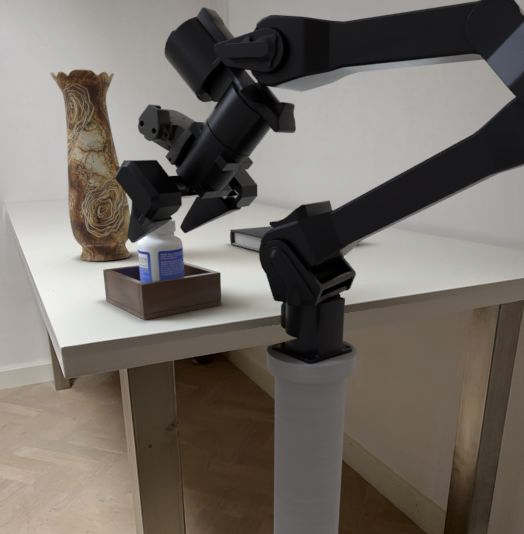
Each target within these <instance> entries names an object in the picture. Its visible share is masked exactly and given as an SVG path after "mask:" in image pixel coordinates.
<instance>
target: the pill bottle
mask: <svg viewBox="0 0 524 534" xmlns="http://www.w3.org/2000/svg"><path fill="white" fill-rule="evenodd" d="M176 231H177V227H176V219H174V218H172V220H171V221H169V222H167V223H166V224H164V225H163V226H161V227H159V228H158V229H156V230H155V231H153V232H152V233H150V234H148V235H147V236H145V237H144V238H142V239H140V240H139V241H137V254H138V255H137V256H138V265H139V269H140V281H141V282H143V283H146V282H153V281H159V280H166V279H172V278H179V277H184V262H185V261H184V247H183V241H182V239H181V238H180V237H178V236H176V234H175V232H176Z"/></svg>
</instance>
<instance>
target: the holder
mask: <svg viewBox="0 0 524 534" xmlns="http://www.w3.org/2000/svg"><path fill="white" fill-rule="evenodd" d="M183 262H184V277H179V278H172V279H166V280H159V281H153V282H146V283H143V282H141V281H140V269H139V264H135V265H128V266H120V267H114V268H113V267H112V268H106V269H103V270H102V273H103V282H104V283H103V284H104V290H105V291H104V292H105V293H104V294H105V302H106V303H108V304H111V305H113V306H115V307H117V308H119V309H121V310H123V311H125V312H127V313H129V314H131V315H133V316H135V317H136V318H139V319H140V320H144V321H146V320H151V319H157V318H161V317H162V318H163V317H167V316H172V315H176V314H181V313H187V312H192V311H197V310H203V309H207V308H212V307H213V308H214V307H218V306H222V282H221V281H222V280H221V279H222V277H221V272H220V271H217V270H213V269H209V268H206V267H202V266H199V265H196V264H194V263H193V264H192V263H189V262H186V261H183Z"/></svg>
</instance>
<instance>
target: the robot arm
mask: <svg viewBox="0 0 524 534" xmlns="http://www.w3.org/2000/svg"><path fill="white" fill-rule="evenodd" d="M164 56H165V59H166V61H167V62H168V63H169V64H170V66H171V67H172V68H173V69H174V70H175V72H176V73H177V74H178V76H179V77H180V78H181V79H182V81H183V82H184V83H185V85H187V87H188V89H190V91H191V92H192V93H193V95H194V96H195V98H197V100H198V101H200V102H202V103H210V102H214V103H216V104H215V106H214V107H213V109H212V110H211V112H210V113H209V114H208V116H207V117H206V119H205V120H204V121H196V120H194V119H193V118H191V117H189V116H188V115H186V114H184V113H182V112H180V111H178V110H175V109H167V108H162V106H161V105H159V104H147V106H146V107H145V108H144V110H143V111H142V112H141V114H140V116H139V117H138V124H137V129H138V132H139V134H141V135H143V137H144V139H145V140H146V141H148V142H153V143H154V144H156V145H158V147H159V146H160V147H161V148H163V149H164V150H166V151H168V152H167V153H166V155H165V159H166V160H167V161H168V163H169V164H170V166H175V168H176V169H175V173H176V175H169V174H168V173H167V171H166V170H165V169H164V168H163V166H162V165H161V164H160V162H159V161H158V160H157V159H129V160H123V161H122V163H121V165H119V167H120V168H119V170H118V171H117V173H116V176H115V179H116V180H117V182H118V183H119V184H120V186H121V187H122V188H123V190H124V191H125V192H126V195H127V197H128V198H129V199H130V200H131V209H130V221H129V227H128V234H127V237H128V238H129V239H128V241H130V242H131V244H135V243H138V241H139V240H140V239H142V238H144V237H145V236H147V235H148V234H150V233H152V232H153V231H155V230H156V229H158V228H159V227H161V226H163V225H164V224H166V223H167V222H169V221H171V220H172V219H173V218H172V216H173V215H175V214H176V213H178V211H179V210H180V208H181V207H182V206H183V199H192V198H195V199H194V200H193V203H191V206H190V207H189V209H188V211H187V213H186V214H185V216H184V217H183V220H182V222H181V224H180V226H179V228H180V230H181V231H182V233H184V234H188V233H190V232H193V231H194V230H197V229H198V228H201V227H203V226H205V225H207V224H209V223H211V222H214V221H217V220H219V219H220V218H223V217H225V216H227V215H230V214H232V213H234V212H237V211H240V210H241V209H242V208H244V207H245V208H246V207H249V206H250V205H251V204H252V203H253V202H254V200H255V199H256V198H257V197H258V184H257V182H256V181H255V180H254V179H253V177H252V176H251V175H250V173H249V172H248V171H247V170H249V169H250V168H251V167H252V165H253V164H254V161H253V160H252V158H251V157H250V156H251V155H252V154H253V152H254V151H255V150H256V149H257V147H258V146H259V144H261V142H262V141H263V140H264V138H265V137H266V136H267V134H268V133H269V132H270V130H272V131H273V132H274V133H277V134H278V133H279V134H294V133H295V132H296V131H297V126H296V119H295V107H296V105H295V104H294V103H293V102H285V101H281V99H279V98H278V97H277V95H276V94H275V93H274V92H273V90H272V89H271V88H275V89H282V90H287V91H292V92H300V93H301V92H302V93H303V92H307V91H310V90H311V91H312V90H313V89H317V88H320V87H324V86H327V85H330V84H333V83H335V82H337V81H339V80H341V79H343V78H346V77H348V76H350V75H354V74H357V73H364V72H373V71H383V70H393V69H405V68H415V67H424V66H433V65H442V64H453V63H463V62H472V61H485V62H486V63H487V65H488V66H489V67H490V69H491V70H492V71H493V73H495V74H496V76H497V77H498V78H499V79H500V81H502V83H503V84H504V85H505V87H506V88H507V89H508V90H509V91H510V92H511V93H512V94H513V95H514V98H512V99H511V100H510V101H508V102H507V103H506V104H505V105H504V106H503V107H502V108H501V109H500V110H498V111H497V112H496V114H494V115H493V116H492V117H491V118H489V120H488V121H487V122H485V124H483V125H482V126H481V127H480V128H478V130H476V131H475V132H473V133H472V134H470V135H469V136H467V137H465V138H463V139H461V140H459V141H457V142H455V143H454V144H452V145H450V146H448V147H447V148H445V149H443V150H441V151H439V152H437V153H436V154H434V155H432V156H430V157H428V158H425V160H422V161H421V162H419V163H417V164H415V165H413V166H412V167H410V168H408V169H406V170H404V171H403V172H401V173H399V174H397V175H396V176H393V177H391V178H390V179H388V180H386V181H385V182H382V183H381V184H378V185H377V186H375V187H373V188H371V189H370V190H368V191H366V192H364V193H363V194H360V195H359V196H356V197H355V198H353V199H351V200H350V201H348V202H346V203H344V204H343V205H340V206H338V207H336V208H335V209H333V207H332V204H331V203H332V202H331V200H329V199H328V200H322V201H315V202H310V203H304V204H301V205H299V206H298V207H296V208H295V209H294V210H293V211H291V212H290V213H289V214H288V215H287V216H286V217H284V218H282V219H277V220H272V221H269V226H272V227H273V229H271V230H269V231H268V232H267V233H265V234H264V235H263V237H262V238H261V240H260V243H261V244H260V248H259V252H258V259H259V262H260V263H259V264H260V266H261V269H262V270H263V272H264V273H265V275H266V278H267V282H268V285H269V289H270V292H271V295H272V299H273V301H275V302H280V303H281V305H280V327H281V328H282V329H285V330H284V331H285V334H286V335H288V336H290V337H292V339H289V340H286V341H281V342H277V343H274V344H270V345H271V348H272V349H274V350H276V351H278V352H281V353H283V354H286V355H288V356H290V357H293V358H295V359H297V360H300V361H302V362H305V363H307V364H314V363H317V362H320V361H324V360H327V359H330V358H333V357H337V356H340V355H343V354H346V353H350V352H352V351H353V347H352V346H349V345H346V344H343V341H344V327H345V307H346V298H345V297H344V296H343V297H342V296H341V293H343V292H346V291H349V290H351V288H352V286H353V283H354V281H355V278H356V276H357V272H356V270H355V269H354V268H353V267H352V266H351V264H350V263H349V262H348V261H347V259H346V258H345V256H346V255H347V254H349V253H350V252H351V251H352V250H353V249H355V248H356V246H358V245H359V244H360V243H361V242H362V241H364V240H366V239H367V238H369V237H372V236H374V235H376V234H378V233H380V232H382V231H384V230H386V229H388V228H390V227H392V226H394V225H397V224H398V223H401V222H403V221H404V220H406V219H409V218H411V217H413V216H415V215H418V214H419V213H421V212H423V211H425V210H427V209H429V208H431V207H433V206H435V205H438V204H439V203H441V202H444V201H446V200H447V199H450V198H452V197H454V196H456V195H458V194H460V193H462V192H464V191H466V190H469V189H471V188H472V187H475V186H476V185H478V184H480V183H483V182H485V181H486V180H489V179H490V178H493V177H495V176H496V175H499V174H501V173H505V172H508V171H513V170H515V169H519V168H523V167H524V10H523V8H522V7H521V6H520V5H519V4H518V2H517V1H516V0H475V1H468V2H461V3H455V4H449V5H442V6H435V7H429V8H423V9H417V10H409V11H403V12H396V13H390V14H384V15H377V16H371V17H364V18H357V19H356V18H355V19H350V20H344V21H343V20H331V19H323V18H315V17H311V16H310V17H309V16H300V15H299V16H298V15H283V14H270V15H267V16H264V17H263V18H260V19H259V21H257V22H256V25H255V28H254V30H253V31H250V32H247V33H245V34H242V35H239V36H234V34H233V33H231V31H230V30H229V28H228V27H227V26H226V24H225V22H224V20H223V18H222V17H221V16H220V15H219V13H218V12H217V11H216V10H214V9H211V8H208V7H206V6H205V7H204V6H203V7H201V8H200V10H199V12H198V13H197V15H196V16H194V17H191V18H188V19H187V20H184V22H182V23H181V24H180V25H179V26H177V28H176V29H174V30H172V31H171V32H170V34H169V35H168V36H167V39H166V41H165V44H164ZM248 71H250V73H251V75H250V74H249V72H248ZM252 77H253V78H255V80H254V79H253V78H252ZM357 244H358V245H357Z"/></svg>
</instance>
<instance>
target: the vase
mask: <svg viewBox="0 0 524 534" xmlns="http://www.w3.org/2000/svg"><path fill="white" fill-rule="evenodd" d="M49 74H50V76H51V78H52V79H53V81H54V82H55V84H56V85H57V87H58V88H59V90H60V92H61V94H62V97H63V102H64V103H63V104H64V110H65V120H66V121H65V123H66V145H67V194H68V195H67V200H68V201H67V202H68V203H67V205H68V215H69V223H70V229H71V232H72V236H73V238H74V240H75V241H76V243H77V244H78V245H80V246H81V253H80V257H79V259H80V260H81V261H86V262H87V261H88V262H106V261H115V260H121V259H125V258H129V257H131V253H130V251H129V249H128V248H127V246H126V244H127V242H128V241H129V238H128V237H127V234H128V227H129V221H130V215H131V209H130V205H129V200H128V195H127V194H126V192H125V191H124V190H123V188H122V187H121V186H120V184H119V183H118V182H117V180H116V179H115V176H116V173H117V171H118V170H119V168H120V162H119V158H118V154H117V151H116V146H115V141H114V137H113V133H112V127H111V122H110V118H109V112H108V111H109V110H108V106H107V95H108V91H109V89H110V86H111V82H112V80H113V78H114V76H115V74H114V72H110V73H108V72H107V71H105V70H104V71H100V72H99V73H96V72H94V71H93V70H92V69H87V68H73V69H70V71H69V73H66V72H65V71H63V70H59V71H57V74H56V73H55V72H53V71H49Z"/></svg>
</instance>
